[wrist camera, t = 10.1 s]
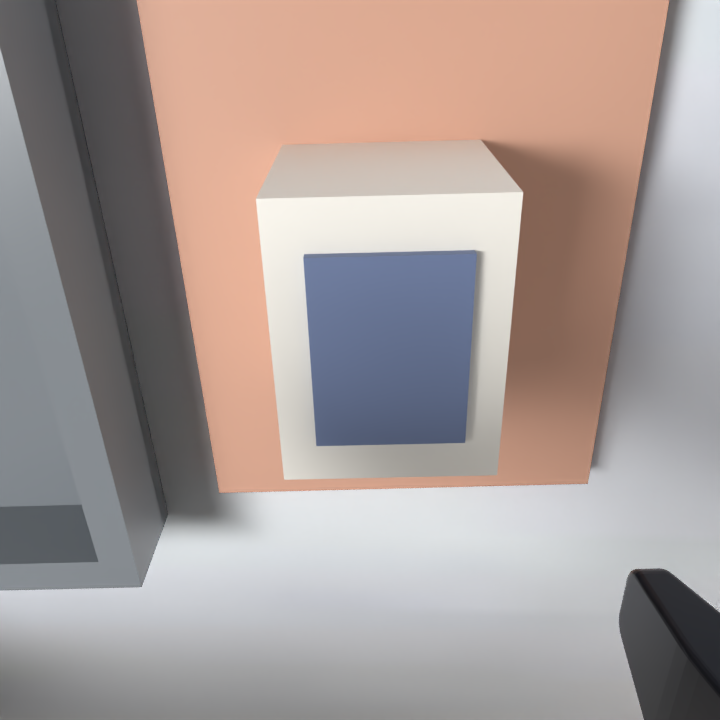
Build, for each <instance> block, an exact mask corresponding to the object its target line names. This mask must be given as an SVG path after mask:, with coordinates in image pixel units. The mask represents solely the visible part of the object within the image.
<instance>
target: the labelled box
mask: <svg viewBox="0 0 720 720" xmlns="http://www.w3.org/2000/svg"><path fill="white" fill-rule="evenodd" d="M522 200H523V191H522V190H521V189H520V187H519V186H518V185H517V184H516V183H515V181H514V180H513V179H512V178H511V176H510V175H509V174H508V173H507V171H506V170H505V169H504V168H503V167H502V165H501V164H500V163H499V162H498V160H497V159H496V158H495V157H494V155H493V154H492V153H491V152H490V150H489V149H488V148H487V147H486V146H485V144H484V143H483V142H482V141H481V140H446V141H408V142H370V143H332V144H293V145H282V146H281V148H280V151H279V153H278V155H277V157H276V159H275V161H274V163H273V165H272V167H271V169H270V171H269V173H268V175H267V177H266V179H265V181H264V183H263V185H262V187H261V189H260V191H259V193H258V195H257V198H256V205H257V215H258V225H259V235H260V245H261V255H262V265H263V275H264V285H265V295H266V305H267V315H268V325H269V335H270V345H271V354H272V364H273V374H274V384H275V394H276V404H277V414H278V424H279V434H280V444H281V454H282V464H283V474H284V480H296V479H344V478H391V477H439V476H487V475H497V471H498V460H499V449H500V438H501V427H502V416H503V406H504V395H505V384H506V373H507V362H508V352H509V341H510V330H511V319H512V308H513V297H514V287H515V276H516V265H517V254H518V243H519V233H520V222H521V211H522Z"/></svg>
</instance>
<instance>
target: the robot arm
mask: <svg viewBox="0 0 720 720" xmlns="http://www.w3.org/2000/svg"><path fill="white" fill-rule="evenodd" d="M619 628H620V634H621V638H622V641H623V645H624V649H625V652H626V656H627V659H628V663H629V667H630V670H631V674H632V678H633V681H634V685H635V688H636V692H637V696H638V699H639V703H640V707H641V710H642V714H643V717H644V720H720V612H719V611H717V610H716V609H715V608H714V607H712V606H711V605H710V604H709V603H707V602H706V601H705V600H704V599H703V598H701V597H700V596H699V595H698V594H696V593H695V592H694V591H693V590H691V589H690V588H689V587H688V586H687V585H685V584H684V583H683V582H682V581H680V580H679V579H678V578H677V577H675V576H674V575H673V574H672V573H670V572H669V571H667V570H665V569H635V570H632V571H631V572H630V574H629V575H628V578H627V582H626V587H625V591H624V596H623V600H622V605H621V609H620V614H619Z"/></svg>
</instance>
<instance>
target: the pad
mask: <svg viewBox="0 0 720 720" xmlns="http://www.w3.org/2000/svg"><path fill="white" fill-rule="evenodd" d="M137 6H138V12H139V18H140V24H141V30H142V36H143V42H144V47H145V53H146V59H147V65H148V71H149V77H150V83H151V89H152V95H153V101H154V107H155V113H156V119H157V125H158V131H159V137H160V143H161V149H162V155H163V161H164V167H165V172H166V178H167V184H168V190H169V196H170V202H171V208H172V214H173V220H174V226H175V232H176V238H177V244H178V250H179V256H180V262H181V268H182V274H183V280H184V286H185V291H186V297H187V303H188V309H189V315H190V321H191V327H192V333H193V339H194V345H195V351H196V357H197V363H198V369H199V375H200V381H201V387H202V393H203V399H204V405H205V410H206V416H207V422H208V428H209V434H210V440H211V446H212V452H213V458H214V464H215V470H216V476H217V482H218V488H219V493H231V492H271V491H311V490H351V489H392V488H432V487H472V486H512V485H552V484H588V479H589V473H590V467H591V461H592V455H593V449H594V443H595V437H596V431H597V426H598V420H599V414H600V408H601V402H602V396H603V390H604V384H605V378H606V372H607V366H608V360H609V355H610V349H611V343H612V337H613V331H614V325H615V319H616V313H617V307H618V301H619V295H620V290H621V284H622V278H623V272H624V266H625V260H626V254H627V248H628V242H629V236H630V230H631V224H632V219H633V213H634V207H635V201H636V195H637V189H638V183H639V177H640V171H641V165H642V159H643V154H644V148H645V142H646V136H647V130H648V124H649V118H650V112H651V106H652V100H653V94H654V88H655V83H656V77H657V71H658V65H659V59H660V53H661V47H662V41H663V35H664V29H665V23H666V17H667V12H668V6H669V0H137ZM446 140H481V141H482V142H483V143H484V144H485V146H486V147H487V148H488V149H489V150H490V152H491V153H492V154H493V155H494V157H495V158H496V159H497V160H498V162H499V163H500V164H501V165H502V167H503V168H504V169H505V170H506V171H507V173H508V174H509V175H510V176H511V178H512V179H513V180H514V181H515V183H516V184H517V185H518V186H519V187H520V189H521V190H522V191H523V200H522V211H521V222H520V233H519V243H518V254H517V265H516V276H515V287H514V297H513V308H512V319H511V330H510V341H509V352H508V362H507V373H506V384H505V395H504V406H503V416H502V427H501V438H500V449H499V460H498V471H497V475H487V476H439V477H391V478H344V479H296V480H284V474H283V464H282V454H281V444H280V434H279V424H278V414H277V404H276V394H275V384H274V374H273V364H272V354H271V345H270V335H269V325H268V315H267V305H266V295H265V285H264V275H263V265H262V255H261V245H260V235H259V225H258V215H257V205H256V198H257V195H258V193H259V191H260V189H261V187H262V185H263V183H264V181H265V179H266V177H267V175H268V173H269V171H270V169H271V167H272V165H273V163H274V161H275V159H276V157H277V155H278V153H279V151H280V148H281V146H282V145H293V144H332V143H370V142H408V141H446Z"/></svg>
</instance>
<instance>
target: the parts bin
mask: <svg viewBox="0 0 720 720" xmlns="http://www.w3.org/2000/svg"><path fill="white" fill-rule="evenodd" d="M167 516H168V513H167V508H166V503H165V499H164V494H163V490H162V485H161V481H160V476H159V472H158V467H157V462H156V458H155V453H154V449H153V444H152V440H151V435H150V431H149V426H148V421H147V417H146V412H145V408H144V403H143V399H142V394H141V390H140V385H139V381H138V376H137V371H136V367H135V362H134V358H133V353H132V349H131V344H130V340H129V335H128V330H127V326H126V321H125V317H124V312H123V308H122V303H121V299H120V294H119V289H118V285H117V280H116V276H115V271H114V267H113V262H112V258H111V253H110V248H109V244H108V239H107V235H106V230H105V226H104V221H103V217H102V212H101V208H100V203H99V198H98V194H97V189H96V185H95V180H94V176H93V171H92V167H91V162H90V157H89V153H88V148H87V144H86V139H85V135H84V130H83V126H82V121H81V116H80V112H79V107H78V103H77V98H76V94H75V89H74V85H73V80H72V76H71V71H70V66H69V62H68V57H67V53H66V48H65V44H64V39H63V35H62V30H61V25H60V21H59V16H58V12H57V7H56V3H55V0H0V590H38V589H81V588H124V587H142V585H143V582H144V579H145V576H146V573H147V571H148V568H149V565H150V562H151V560H152V557H153V554H154V551H155V549H156V546H157V543H158V540H159V538H160V535H161V532H162V529H163V527H164V524H165V521H166V518H167Z"/></svg>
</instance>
